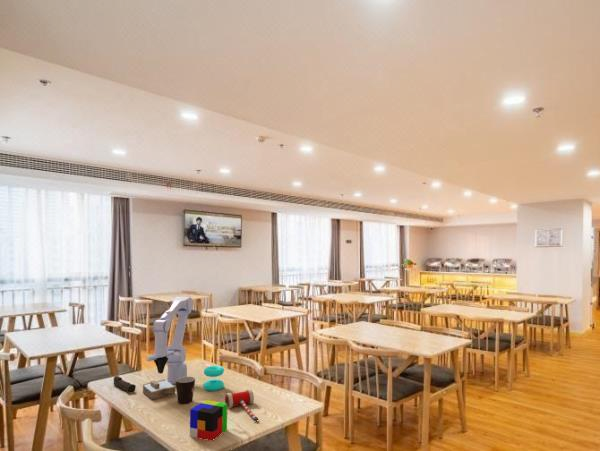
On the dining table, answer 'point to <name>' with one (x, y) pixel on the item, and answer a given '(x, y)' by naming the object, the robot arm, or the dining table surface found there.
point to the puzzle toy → (208, 419)
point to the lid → (157, 385)
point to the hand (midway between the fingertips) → (160, 372)
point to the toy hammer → (241, 400)
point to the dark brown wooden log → (124, 384)
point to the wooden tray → (159, 392)
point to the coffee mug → (185, 389)
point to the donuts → (213, 383)
